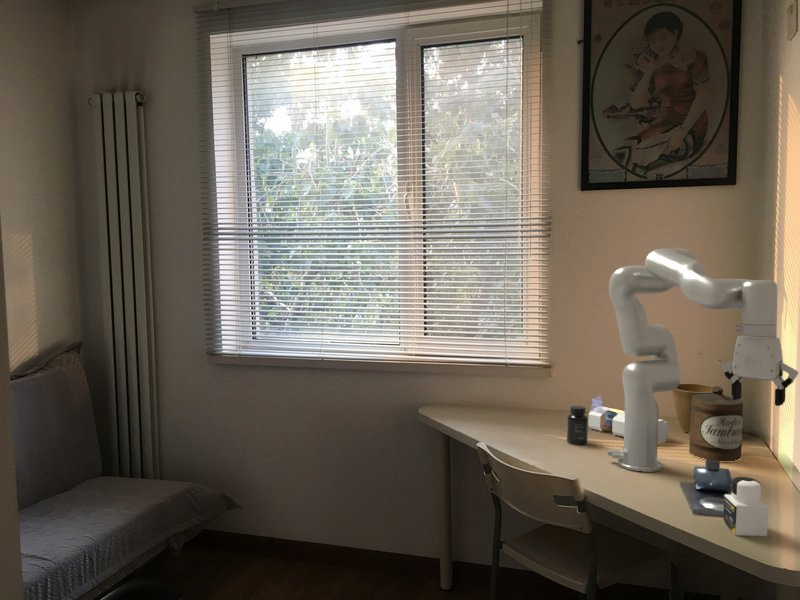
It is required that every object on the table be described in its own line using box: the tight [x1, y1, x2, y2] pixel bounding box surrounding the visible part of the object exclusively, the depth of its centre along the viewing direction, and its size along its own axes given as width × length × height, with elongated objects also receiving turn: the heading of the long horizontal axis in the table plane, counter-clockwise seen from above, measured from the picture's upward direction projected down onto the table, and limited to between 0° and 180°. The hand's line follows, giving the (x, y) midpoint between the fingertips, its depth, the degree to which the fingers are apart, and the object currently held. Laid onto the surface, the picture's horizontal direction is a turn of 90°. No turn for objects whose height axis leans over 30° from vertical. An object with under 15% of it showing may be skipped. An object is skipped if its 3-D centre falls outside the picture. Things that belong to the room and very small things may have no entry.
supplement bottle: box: [566, 405, 589, 446], centre depth 224 cm, size 7×7×12 cm
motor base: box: [679, 459, 735, 518], centre depth 172 cm, size 14×20×9 cm
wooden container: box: [688, 385, 744, 462], centre depth 210 cm, size 15×15×22 cm
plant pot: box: [671, 383, 714, 432], centre depth 237 cm, size 15×15×16 cm
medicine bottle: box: [722, 476, 769, 537], centre depth 155 cm, size 7×7×12 cm
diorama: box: [588, 395, 670, 442], centre depth 233 cm, size 25×10×13 cm, turn 37°
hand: (757, 402), depth 162 cm, fingers open, 9 cm apart
